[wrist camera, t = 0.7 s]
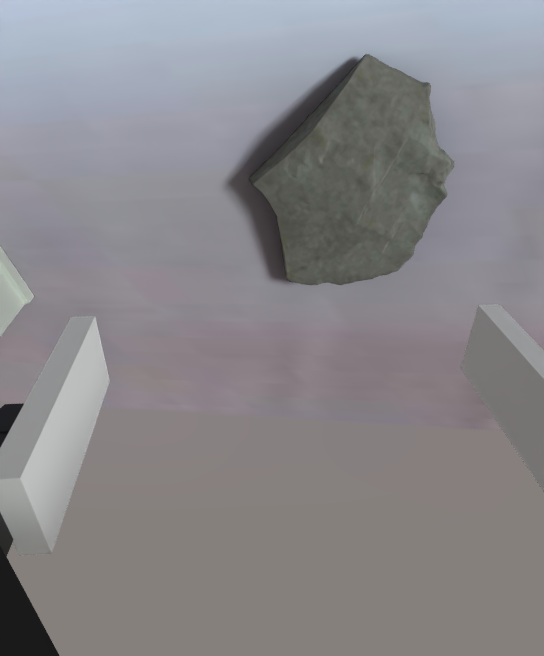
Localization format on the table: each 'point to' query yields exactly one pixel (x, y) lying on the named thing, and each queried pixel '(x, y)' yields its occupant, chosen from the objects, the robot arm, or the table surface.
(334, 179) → the stone
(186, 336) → the table surface
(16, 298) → the rack
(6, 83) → the table surface
